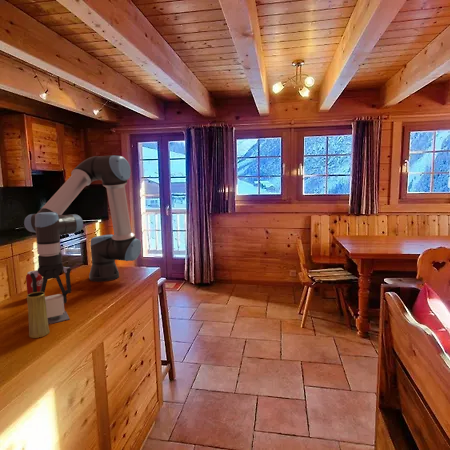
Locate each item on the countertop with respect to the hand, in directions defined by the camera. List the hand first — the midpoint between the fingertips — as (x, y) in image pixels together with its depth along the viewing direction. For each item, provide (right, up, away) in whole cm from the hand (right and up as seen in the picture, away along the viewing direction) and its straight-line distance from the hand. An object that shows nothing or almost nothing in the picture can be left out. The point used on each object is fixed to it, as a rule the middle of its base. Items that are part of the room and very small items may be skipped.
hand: (54, 313), depth 120 cm
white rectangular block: (0, 0, 0) cm, 0 cm away
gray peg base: (0, -2, 0) cm, 2 cm away
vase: (+1, -4, -12) cm, 13 cm away
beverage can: (-20, +1, +22) cm, 29 cm away
